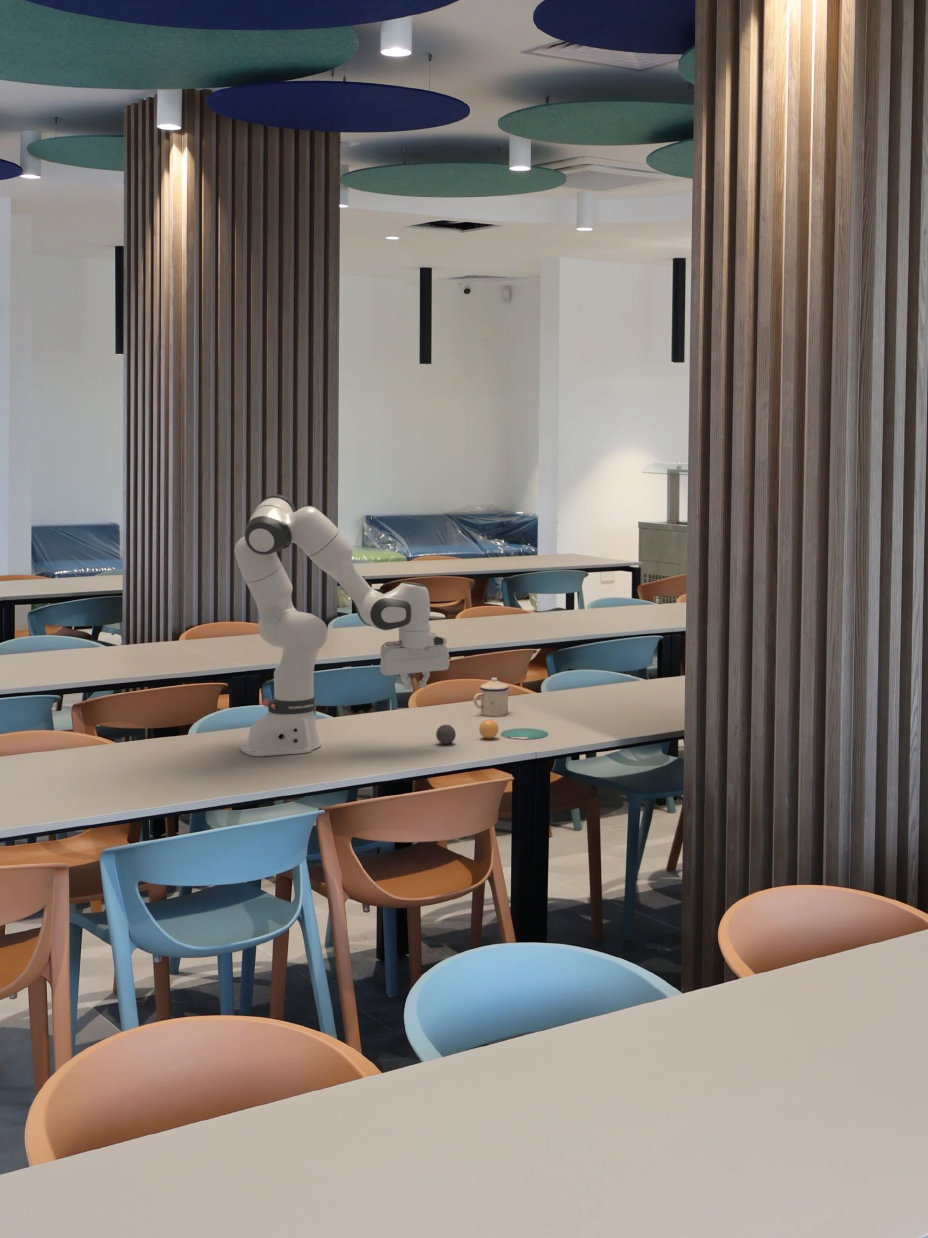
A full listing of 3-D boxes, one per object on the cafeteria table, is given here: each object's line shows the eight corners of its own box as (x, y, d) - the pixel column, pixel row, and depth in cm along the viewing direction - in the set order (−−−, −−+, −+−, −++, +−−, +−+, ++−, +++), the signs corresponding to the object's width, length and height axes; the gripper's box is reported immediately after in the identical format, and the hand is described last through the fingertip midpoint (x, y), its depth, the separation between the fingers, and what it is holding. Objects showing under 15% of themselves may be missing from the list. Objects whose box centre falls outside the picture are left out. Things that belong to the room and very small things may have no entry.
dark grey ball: (441, 747, 361) (441, 727, 360) (432, 743, 366) (432, 724, 365) (459, 744, 363) (459, 725, 363) (450, 741, 368) (450, 722, 368)
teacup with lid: (499, 710, 412) (499, 674, 410) (513, 715, 404) (513, 678, 403) (467, 714, 406) (466, 678, 405) (481, 719, 398) (480, 682, 397)
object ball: (485, 741, 367) (484, 722, 366) (475, 737, 372) (475, 719, 371) (501, 739, 370) (501, 720, 369) (492, 735, 375) (492, 717, 374)
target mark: (515, 741, 367) (515, 740, 367) (492, 732, 379) (492, 731, 379) (557, 736, 374) (557, 735, 374) (532, 727, 386) (532, 726, 386)
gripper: (385, 643, 349) (385, 693, 350) (451, 638, 358) (452, 686, 360) (376, 640, 354) (376, 689, 356) (441, 635, 364) (442, 683, 365)
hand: (415, 688), depth 358 cm, fingers open, 3 cm apart
